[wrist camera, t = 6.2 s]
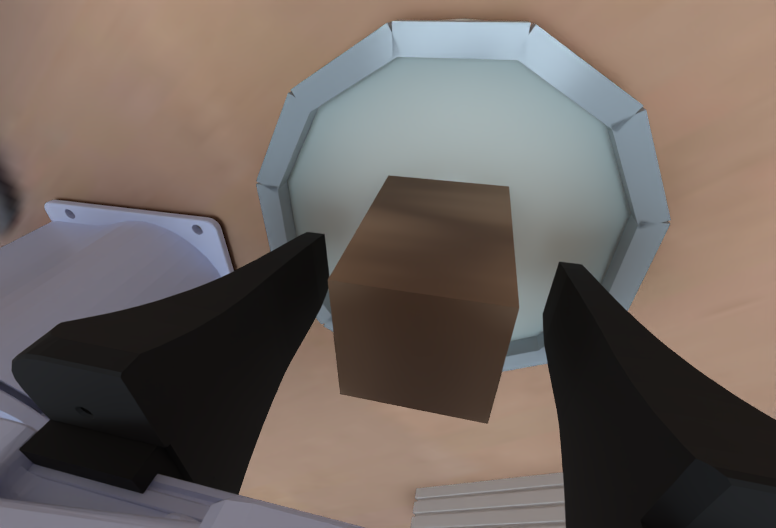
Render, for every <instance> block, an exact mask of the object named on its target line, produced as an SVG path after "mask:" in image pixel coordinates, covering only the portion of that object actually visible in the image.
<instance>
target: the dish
mask: <svg viewBox="0 0 776 528" xmlns="http://www.w3.org/2000/svg"><path fill="white" fill-rule="evenodd" d="M530 24H531V22H529V21H491V20H479V19H468V18H459V19H445V20H395V21H392V22H388V23H386V24H385V25H383V26H382V27H380V28H379V29H378V30H376V31H375V32H373V33H372V34H370V35H369V36H367V37H366V38H365V39H363V40H362V41H360V42H359V43H357V44H356V45H354V46H353V47H351V48H350V49H349V50H347V51H346V52H344V53H343V54H341V55H340V56H338V57H337V58H336V59H334V60H333V61H331V62H330V63H328V64H327V65H325V66H324V67H323V68H321V69H320V70H318V71H317V72H315V73H314V74H312V75H311V76H310V77H308V78H307V79H305V80H304V81H302V82H301V83H299V84H298V85H297V86H295V87H294V88H292V89H291V92H289V93H288V95H287V98H286V100H285V103H284V106H283V109H282V111H281V114H280V117H279V120H278V122H277V125H276V128H275V131H274V133H273V136H272V139H271V142H270V144H269V147H268V150H267V153H266V155H265V158H264V161H263V164H262V167H261V169H260V172H259V175H258V178H257V180H256V181H257V182H258V183H257V184H256V186H257V191H258V195H259V200H260V204H261V209H262V214H263V218H264V223H265V228H266V232H267V237H268V241H269V246H270V251H273V250H275V249H276V248H278V247H280V246H282V245H283V244H285V243H287V242H289V241H290V240H292V239H294V238H296V237H298V236H300V235H302V234H304V233H306V232H313V233H321V234H325V241H326V250H327V259H328V267H329V276H330V275H331V273H332V272H333V270H334V268H335V266H336V265H337V263H338V261H339V260H340V258H341V256H342V254H343V253H344V251H345V249H346V247H347V246H348V244H349V242H350V241H351V239H352V237H353V235H354V234H355V232H356V230H357V229H358V227H359V225H360V223H361V222H362V220H363V218H364V217H365V215H366V213H367V211H368V210H369V208H370V206H371V205H372V203H373V201H374V199H375V198H376V196H377V194H378V192H379V191H380V189H381V187H382V186H383V184H384V182H385V180H386V179H387V177H388V175H390V176H401V177H412V178H423V179H434V180H444V181H455V182H466V183H477V184H488V185H499V186H509V192H510V203H511V215H512V227H513V239H514V250H515V262H516V274H517V285H518V297H519V311H518V315H517V319H516V322H515V326H514V330H513V333H512V337H511V341H510V344H509V348H508V351H507V355H506V359H505V362H504V366H503V370H502V371H508V370H514V369H519V368H525V367H530V366H536V365H542V364H547V357H546V352H545V347H544V337H543V311H544V308H545V305H546V301H547V298H548V295H549V292H550V289H551V286H552V282H553V279H554V276H555V273H556V270H557V267H558V263H559V262H567V263H576V264H582V265H583V266H584V267H585V268H586V269H587V270H588V271H589V272H590V273H591V274H592V275H593V276H594V277H595V278H596V279H597V280H598V282H599V283H600V284H601V285H602V286H603V287H604V288H605V289H606V290H607V291H608V292H609V293H610V294H611V295H612V296H613V297H614V298H615V299H616V300H617V301H618V302H619V303H620V304H621V305H622V306H623V307H624V308H625V309H626V310H627V311H628V309H629V307H630V305H631V303H632V301H633V299H634V297H635V295H636V293H637V291H638V289H639V287H640V285H641V283H642V281H643V279H644V277H645V275H646V272H647V270H648V268H649V266H650V264H651V262H652V260H653V258H654V256H655V254H656V252H657V250H658V248H659V246H660V244H661V242H662V240H663V238H664V236H665V234H666V232H667V229H668V227H669V225H670V223H669V222H668V221H669V220H671V219H670V214H669V210H668V205H667V201H666V196H665V192H664V188H663V183H662V179H661V174H660V170H659V165H658V161H657V156H656V152H655V147H654V143H653V138H652V134H651V130H650V125H649V121H648V116H647V112H646V109H644V108H643V105H642V104H641V103H639V102H638V101H637V100H635V99H634V98H633V97H631V96H630V95H629V94H627V93H626V92H625V91H623V90H622V89H621V88H619V87H618V86H617V85H615V84H614V83H613V82H611V81H610V80H609V79H608V78H606V77H605V76H604V75H602V74H601V73H600V72H598V71H597V70H596V69H594V68H593V67H592V66H590V65H589V64H588V63H586V62H585V61H584V60H582V59H581V58H580V57H578V56H577V55H576V54H574V53H573V52H572V51H571V50H569V49H568V48H567V47H565V46H564V45H563V44H561V43H560V42H559V41H557V40H556V39H555V38H553V37H552V36H551V35H549V34H548V33H547V32H545V31H544V30H543V29H541V28H540V27H539V26H537V25H536V24H535V23H533V24H532V25H531V26H530ZM316 318H317V320H318V321H319V322H320V323H321V324H324V323H325V324H324V327H326V328H328V329H329V330H331V331H333V324H332V315H331V306H330V297H329V289H328V291H327V294H326V297H325V299H324V302H323V304H322V307H321V309H320V311H319V313H318V315H317V316H316Z"/></svg>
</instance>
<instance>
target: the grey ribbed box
mask: <svg viewBox="0 0 776 528" xmlns="http://www.w3.org/2000/svg"><path fill="white" fill-rule="evenodd" d="M415 499H417V502H414V507H413V513H414V514H415V517H412V520H411V527H410V528H566V523H565V499H564V482H563V472H560V473H551V474H542V475H533V476H525V477H516V478H507V479H498V480H489V481H480V482H471V483H462V484H453V485H444V486H435V487H426V488H417V489H416V495H415Z"/></svg>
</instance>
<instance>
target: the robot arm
mask: <svg viewBox="0 0 776 528" xmlns="http://www.w3.org/2000/svg"><path fill="white" fill-rule="evenodd" d="M45 210H46V212H47V214H48V216H49V217H50V219H51V221H52V222H50V223H48V224H46V225H44V226H42V227H40V228H38V229H36V230H34V231H32V232H30V233H28V234H27V235H25V236H23V237H21V238H19V239H17V240H15V241H13V242H11V243H9V244H7V245H5V246H3V247H1V248H0V528H365V527H361V526H357V525H353V524H349V523H345V522H342V521H338V520H334V519H330V518H326V517H322V516H319V515H315V514H311V513H307V512H303V511H299V510H296V509H292V508H288V507H284V506H280V505H276V504H273V503H269V502H265V501H261V500H256V499H252V498H249V497H245V496H241V495H238V494H239V491H240V488H241V485H242V482H243V479H244V476H245V473H246V470H247V467H248V464H249V461H250V459H251V456H252V453H253V451H254V448H255V445H256V442H257V440H258V437H259V434H260V432H261V429H262V426H263V424H264V421H265V419H266V417H267V414H268V412H269V409H270V407H271V404H272V402H273V399H274V397H275V395H276V392H277V390H278V388H279V385H280V383H281V381H282V378H283V376H284V374H285V372H286V370H287V368H288V366H289V364H290V362H291V360H292V359H293V357H294V355H295V353H296V352H297V350H298V348H299V346H300V345H301V343H302V341H303V339H304V338H305V336H306V334H307V332H308V331H309V329H310V327H311V325H312V324H313V322H314V320H315V318H316V316H317V315H318V313H319V311H320V309H321V307H322V304H323V302H324V299H325V297H326V294H327V291H328V289H329V288H328V278H329V277H330V276H329V267H328V259H327V250H326V241H325V234H321V233H313V232H306V233H304V234H302V235H300V236H298V237H296V238H294V239H292V240H290V241H289V242H287V243H285V244H283V245H282V246H280V247H278V248H276V249H275V250H273V251H271V252H269V253H267V254H266V255H264V256H262V257H260V258H259V259H257V260H255V261H253V262H251V263H249V264H247V265H245V266H243V267H241V268H239V269H237V270H235V271H234V269H233V266H232V263H231V259H230V256H229V252H228V249H227V246H226V242H225V239H224V235H223V232H222V229H221V226H220V224H219V223H218V222H217V221H215V220H214V219H212V218H209V217H200V216H191V215H183V214H174V213H166V212H157V211H148V210H140V209H131V208H123V207H114V206H105V205H97V204H88V203H80V202H71V201H62V200H51V201H49V202H46V203H45ZM198 226H200V227H201V229H202V230H201V229H200V228H199V227H198ZM543 337H544V347H545V352H546V357H547V363H548V368H549V373H550V378H551V383H552V388H553V393H554V398H555V403H556V408H557V414H558V421H559V429H560V441H561V453H562V467H563V482H564V499H565V523H566V528H776V420H775V419H773V418H771V417H770V416H768V415H766V414H764V413H763V412H761V411H759V410H758V409H756V408H755V407H753V406H751V405H750V404H748V403H746V402H745V401H743V400H742V399H740V398H738V397H737V396H735V395H734V394H732V393H731V392H729V391H728V390H726V389H725V388H723V387H722V386H720V385H719V384H717V383H716V382H714V381H713V380H711V379H710V378H708V377H707V376H706V375H704V374H703V373H701V372H700V371H699V370H697V369H696V368H694V367H693V366H692V365H690V364H689V363H688V362H686V361H685V360H684V359H682V358H681V357H680V356H679V355H677V354H676V353H675V352H673V351H672V350H671V349H670V348H668V347H667V346H666V345H665V344H663V343H662V342H661V341H660V340H659V339H657V338H656V337H655V336H654V335H653V334H652V333H651V332H649V331H648V330H647V329H646V328H645V327H644V326H643V325H642V324H640V323H639V322H638V321H637V320H636V319H635V318H634V317H633V316H632V315H631V314H630V313H629V312H628V311H627V310H626V309H625V308H624V307H623V306H622V305H621V304H620V303H619V302H618V301H617V300H616V299H615V298H614V297H613V296H612V295H611V294H610V293H609V292H608V291H607V290H606V289H605V288H604V287H603V286H602V285H601V284H600V283H599V282H598V280H597V279H596V278H595V277H594V276H593V275H592V274H591V273H590V272H589V271H588V270H587V269H586V268H585V267H584V266H583V265H582V264H576V263H567V262H559V263H558V267H557V270H556V273H555V276H554V279H553V282H552V286H551V289H550V292H549V295H548V298H547V301H546V305H545V308H544V311H543Z"/></svg>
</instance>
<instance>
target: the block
mask: <svg viewBox="0 0 776 528" xmlns="http://www.w3.org/2000/svg"><path fill="white" fill-rule="evenodd" d="M328 288H329V297H330V306H331V315H332V324H333V333H334V342H335V351H336V360H337V369H338V378H339V387H340V394H343V395H347V396H352V397H357V398H362V399H367V400H372V401H377V402H382V403H387V404H392V405H397V406H402V407H407V408H412V409H417V410H422V411H427V412H432V413H437V414H442V415H447V416H452V417H457V418H462V419H467V420H472V421H477V422H481V423H486V424H488V421H489V417H490V413H491V410H492V406H493V402H494V399H495V395H496V392H497V388H498V384H499V381H500V377H501V373H502V370H503V366H504V362H505V359H506V355H507V351H508V348H509V344H510V341H511V337H512V333H513V330H514V326H515V322H516V319H517V315H518V311H519V297H518V285H517V274H516V262H515V250H514V239H513V227H512V215H511V203H510V192H509V186H499V185H488V184H477V183H466V182H455V181H444V180H434V179H423V178H412V177H401V176H390V175H388V177H387V179H386V180H385V182H384V184H383V186H382V187H381V189H380V191H379V192H378V194H377V196H376V198H375V199H374V201H373V203H372V205H371V206H370V208H369V210H368V211H367V213H366V215H365V217H364V218H363V220H362V222H361V223H360V225H359V227H358V229H357V230H356V232H355V234H354V235H353V237H352V239H351V241H350V242H349V244H348V246H347V247H346V249H345V251H344V253H343V254H342V256H341V258H340V260H339V261H338V263H337V265H336V266H335V268H334V270H333V272H332V273H331V275H330V277H329V278H328Z"/></svg>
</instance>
